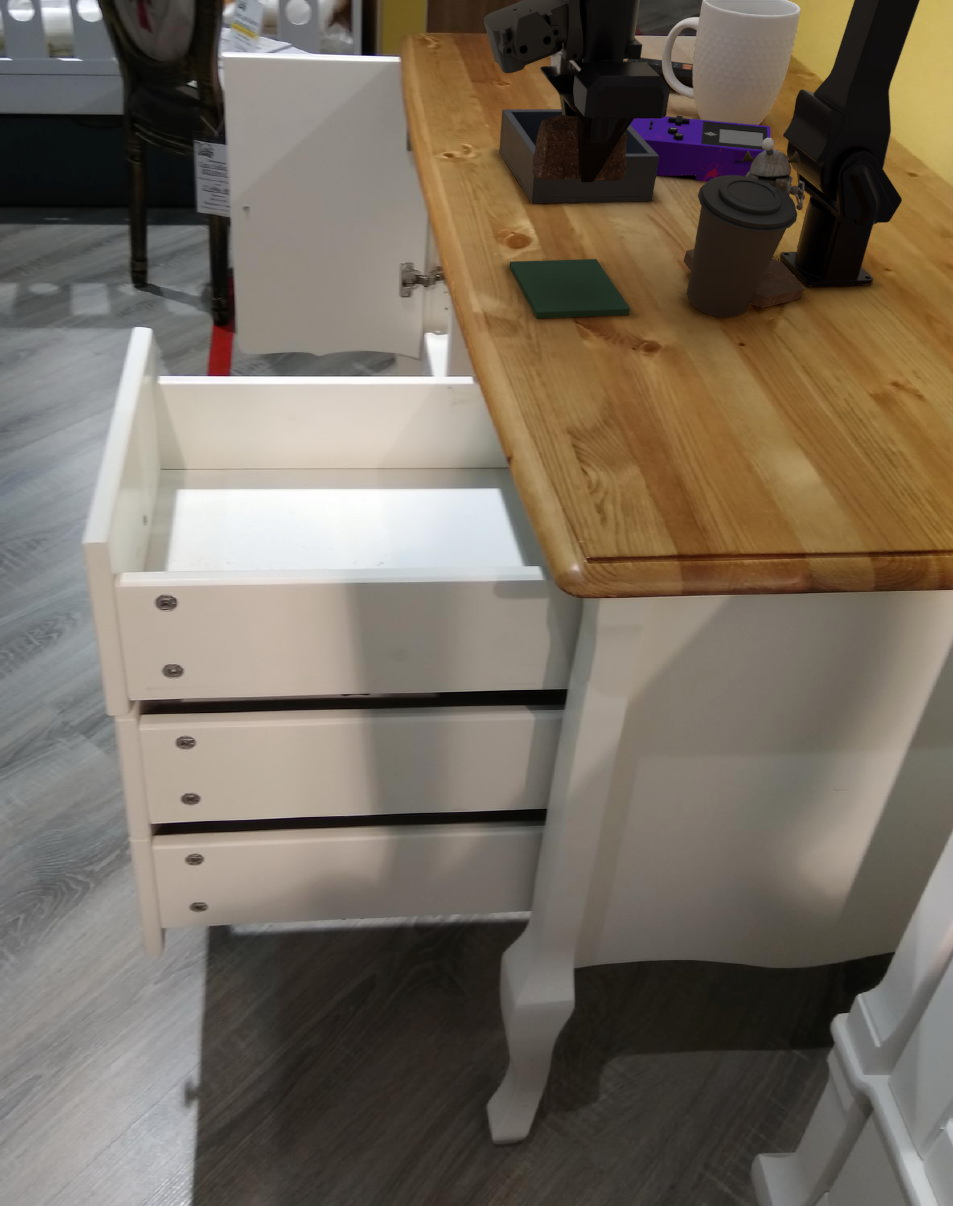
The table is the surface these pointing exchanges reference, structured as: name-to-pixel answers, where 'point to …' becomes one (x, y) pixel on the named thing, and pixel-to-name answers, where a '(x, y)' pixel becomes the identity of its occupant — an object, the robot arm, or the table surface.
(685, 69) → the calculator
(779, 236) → the coffee cup
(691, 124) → the handheld gaming console
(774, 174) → the robot figurine
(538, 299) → the mat
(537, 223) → the table surface
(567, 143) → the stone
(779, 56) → the mug
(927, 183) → the table surface
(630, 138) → the open box
